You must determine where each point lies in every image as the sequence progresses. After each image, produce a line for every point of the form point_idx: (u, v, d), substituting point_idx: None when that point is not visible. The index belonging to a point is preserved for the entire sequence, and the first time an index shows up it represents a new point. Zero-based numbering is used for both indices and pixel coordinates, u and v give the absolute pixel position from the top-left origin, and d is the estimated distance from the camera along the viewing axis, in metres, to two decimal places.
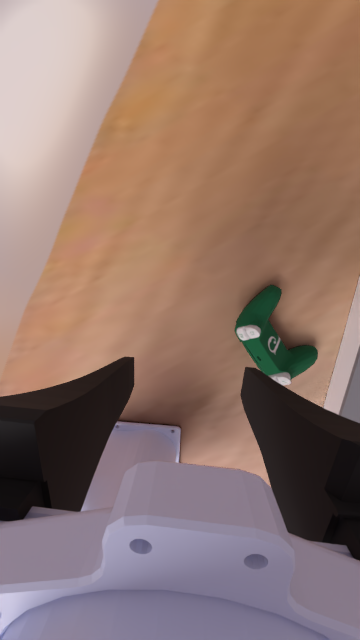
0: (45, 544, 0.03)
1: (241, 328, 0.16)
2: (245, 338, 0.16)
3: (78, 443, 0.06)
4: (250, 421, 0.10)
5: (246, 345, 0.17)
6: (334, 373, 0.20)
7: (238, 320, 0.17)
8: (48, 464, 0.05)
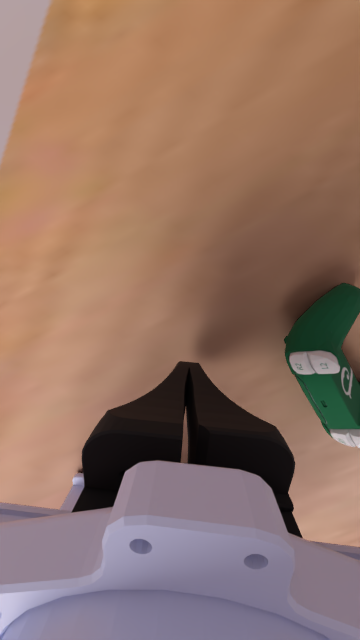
0: (45, 544, 0.03)
1: (301, 355, 0.10)
2: (306, 372, 0.10)
3: None
4: (187, 415, 0.10)
5: (304, 381, 0.10)
6: None
7: (291, 339, 0.10)
8: None
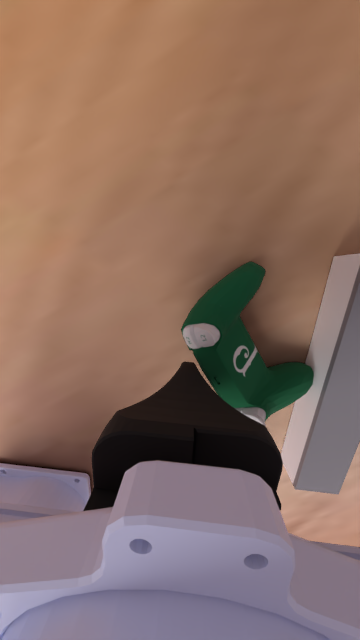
0: (45, 544, 0.03)
1: (188, 328, 0.09)
2: (194, 345, 0.09)
3: None
4: None
5: (197, 357, 0.10)
6: (294, 412, 0.14)
7: (189, 314, 0.10)
8: None
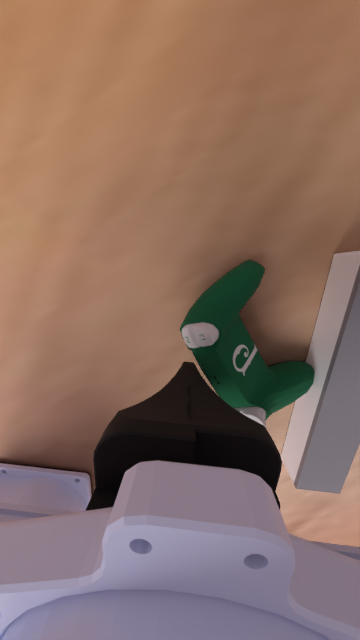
0: (45, 544, 0.03)
1: (187, 327, 0.09)
2: (193, 345, 0.09)
3: None
4: None
5: (197, 356, 0.10)
6: (294, 411, 0.14)
7: None
8: None
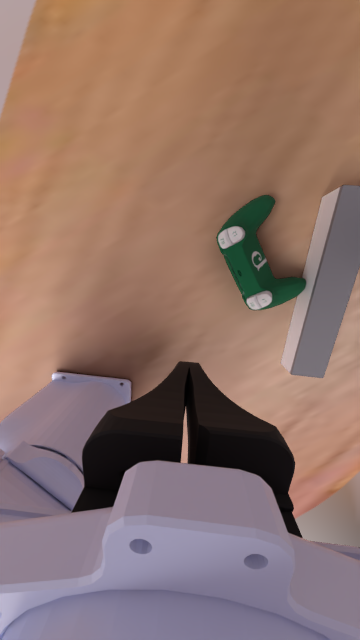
0: (45, 544, 0.03)
1: (223, 231, 0.14)
2: (226, 244, 0.14)
3: None
4: (187, 415, 0.10)
5: (227, 256, 0.15)
6: (292, 322, 0.18)
7: (222, 227, 0.15)
8: None
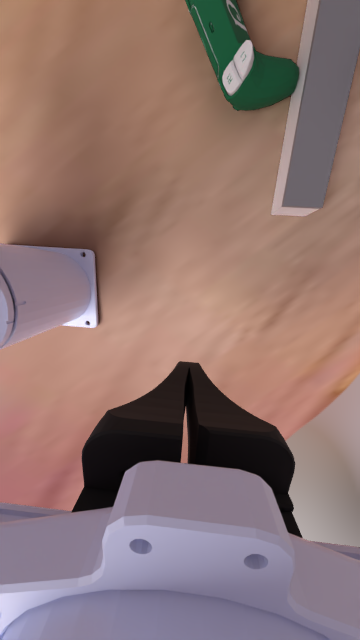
0: (45, 544, 0.03)
1: None
2: None
3: None
4: (187, 415, 0.10)
5: (194, 4, 0.11)
6: (282, 150, 0.15)
7: None
8: None
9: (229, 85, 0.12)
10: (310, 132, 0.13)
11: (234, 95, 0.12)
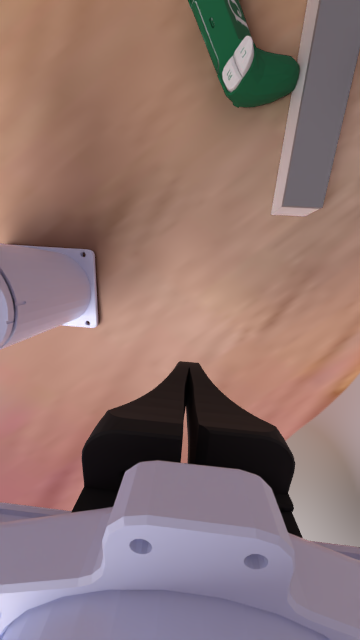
0: (45, 544, 0.03)
1: None
2: None
3: None
4: (187, 415, 0.10)
5: None
6: (282, 150, 0.15)
7: None
8: None
9: (229, 81, 0.12)
10: (310, 132, 0.13)
11: (234, 91, 0.12)
